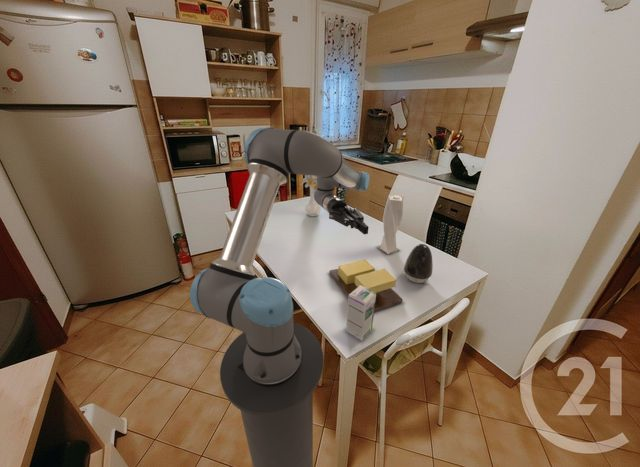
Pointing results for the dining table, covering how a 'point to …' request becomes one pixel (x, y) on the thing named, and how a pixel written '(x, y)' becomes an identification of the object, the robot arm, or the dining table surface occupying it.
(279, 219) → the dining table surface
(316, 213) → the flower vase
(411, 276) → the dark egg on stand
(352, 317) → the syrup box
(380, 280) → the butter slice
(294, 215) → the dining table surface
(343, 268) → the butter block
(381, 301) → the walnut board
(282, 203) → the dining table surface
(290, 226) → the dining table surface
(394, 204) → the skyscraper
